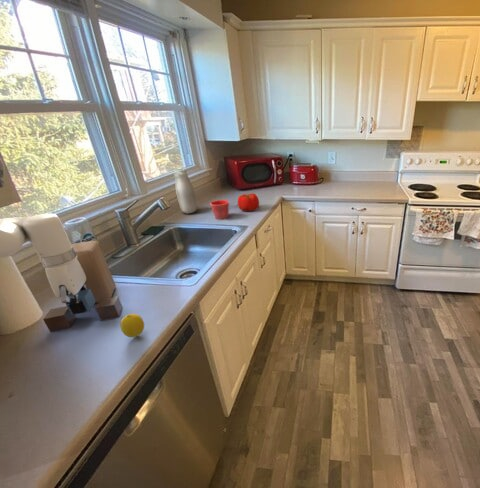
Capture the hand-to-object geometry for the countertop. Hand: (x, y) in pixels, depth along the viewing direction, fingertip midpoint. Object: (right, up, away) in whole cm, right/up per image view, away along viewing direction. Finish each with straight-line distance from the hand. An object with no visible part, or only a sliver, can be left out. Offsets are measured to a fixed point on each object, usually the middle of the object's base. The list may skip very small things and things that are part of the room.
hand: (83, 306), depth 88 cm
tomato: (+25, +43, +100) cm, 112 cm away
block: (-6, +1, +13) cm, 15 cm away
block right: (+6, -3, +4) cm, 8 cm away
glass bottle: (-12, +40, +95) cm, 104 cm away
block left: (-6, -6, 0) cm, 8 cm away
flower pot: (+12, +36, +87) cm, 95 cm away
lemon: (+20, -8, -5) cm, 22 cm away
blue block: (0, 0, 0) cm, 0 cm away
